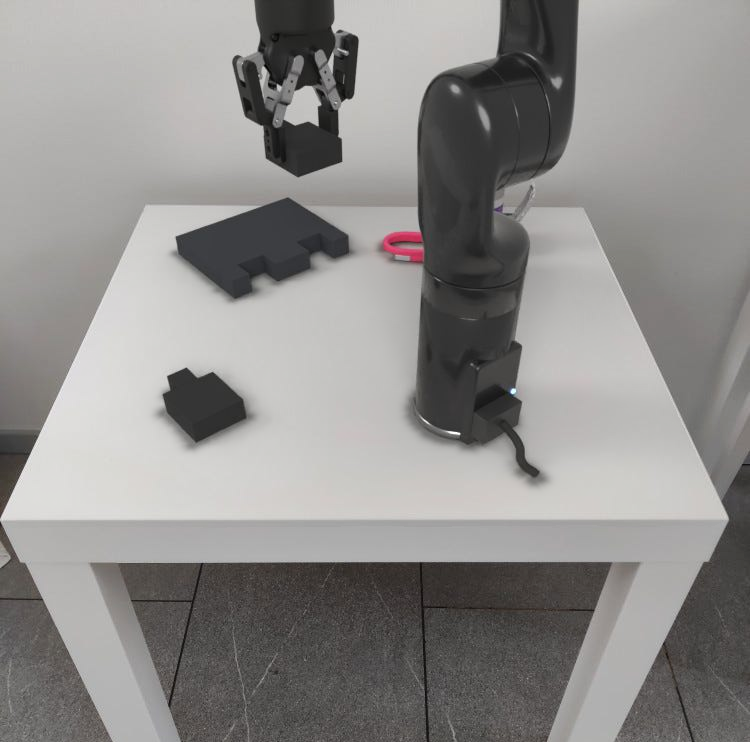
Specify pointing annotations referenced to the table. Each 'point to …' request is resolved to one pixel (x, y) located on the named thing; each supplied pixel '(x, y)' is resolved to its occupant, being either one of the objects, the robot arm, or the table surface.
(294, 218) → the dark grey notched board
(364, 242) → the table surface
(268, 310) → the table surface
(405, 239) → the fitness band
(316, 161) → the black tabbed block
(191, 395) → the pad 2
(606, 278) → the table surface
